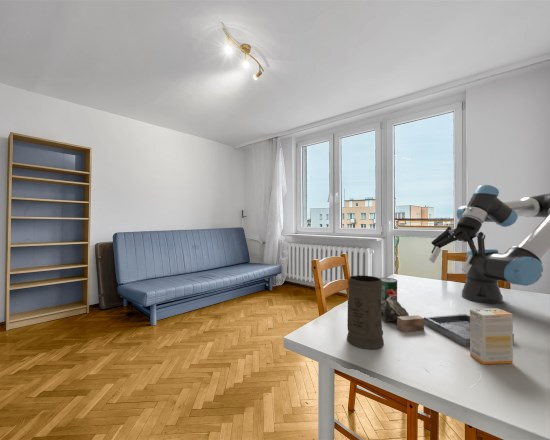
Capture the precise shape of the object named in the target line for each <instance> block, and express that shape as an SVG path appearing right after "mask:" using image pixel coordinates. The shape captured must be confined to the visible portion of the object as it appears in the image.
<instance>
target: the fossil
mask: <svg viewBox="0 0 550 440" xmlns="http://www.w3.org/2000/svg"><path fill="white" fill-rule="evenodd" d="M381 315H383V316H382V318H383V319H382V320H383V322H384V323H386V322H390V321H392V322H395V321H396V322H397V317H400V316H410V315H409V313H408V310H406V308H404V307H403V306H402V305H401V304H400V302H399V301H398V300H397V301H396V300H395V298H394V297H392V296H390V297H388V298H387V299H386V301H385V302H384V304H383V305H382V306H381Z"/></svg>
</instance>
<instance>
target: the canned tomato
mask: <svg viewBox="0 0 550 440" xmlns="http://www.w3.org/2000/svg"><path fill="white" fill-rule="evenodd" d="M379 278H380V279H381V280H382V288H381V301H384V300H386V299H387V298H388V297H390V296H392V297H394V298H395V300H396V301H398V279H395V278H391V277H379Z"/></svg>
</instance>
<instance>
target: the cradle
mask: <svg viewBox="0 0 550 440" xmlns="http://www.w3.org/2000/svg"><path fill="white" fill-rule="evenodd" d="M385 301H386V300H384V301H381V306H382V305H383V304H384V302H385ZM396 328H397V330H399V331H401V332H402V333H407V332H416V331H417V332H418V331H419V332H420V331H425V324H424V317H422V316H420V315H419V314H416V315H409V316H400V317H397V321H396Z"/></svg>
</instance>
